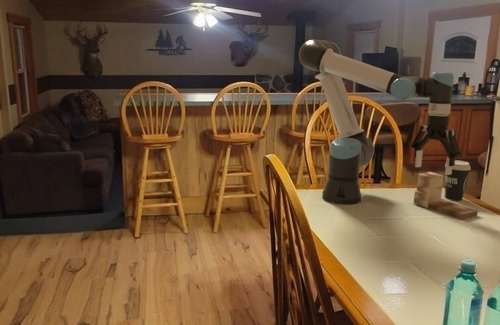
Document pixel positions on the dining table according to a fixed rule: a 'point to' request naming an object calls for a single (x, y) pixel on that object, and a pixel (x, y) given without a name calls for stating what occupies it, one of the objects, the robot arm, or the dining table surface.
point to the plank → (453, 209)
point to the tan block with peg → (428, 188)
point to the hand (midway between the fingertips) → (432, 170)
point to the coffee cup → (457, 181)
